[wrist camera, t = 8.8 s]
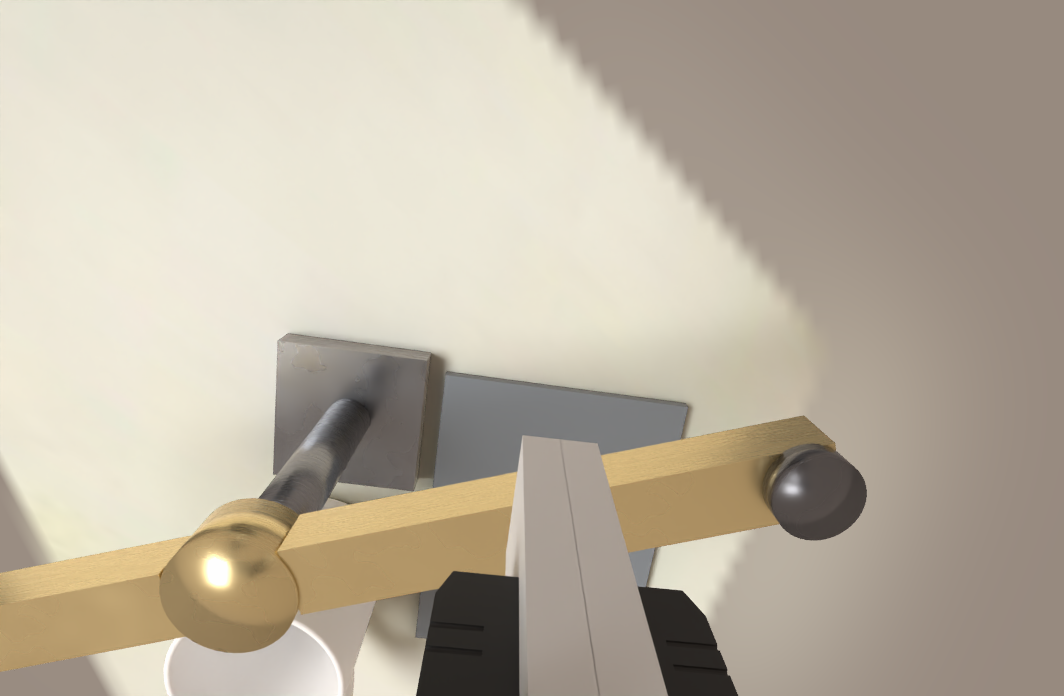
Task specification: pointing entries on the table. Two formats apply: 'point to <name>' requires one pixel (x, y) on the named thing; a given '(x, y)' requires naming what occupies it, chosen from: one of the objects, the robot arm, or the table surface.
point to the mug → (277, 658)
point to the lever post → (345, 418)
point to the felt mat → (538, 435)
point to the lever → (405, 545)
